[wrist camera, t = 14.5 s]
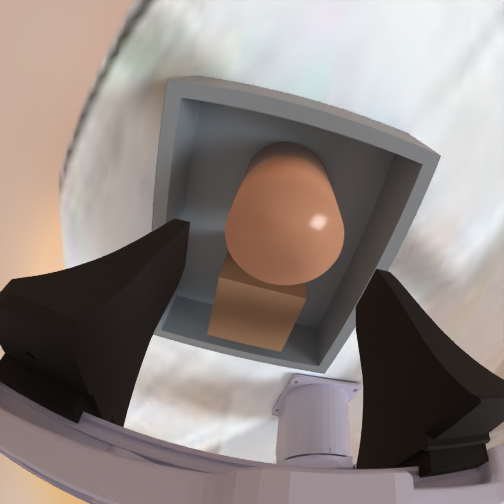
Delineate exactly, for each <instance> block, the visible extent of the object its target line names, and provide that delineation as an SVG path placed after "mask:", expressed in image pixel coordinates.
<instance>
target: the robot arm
mask: <svg viewBox="0 0 504 504" xmlns="http://www.w3.org/2000/svg"><path fill="white" fill-rule="evenodd" d="M189 229H190V222H188V221H184V220H180V219H176V218H174V219H172V220H171V221H169V222H167V223H166V224H164V225H162V226H161V227H159V228H157V229H156V230H154V231H152V232H150V233H149V234H147V235H145V236H144V237H142V238H140V239H138V240H136V241H134V242H133V243H131V244H129V245H127V246H125V247H123V248H121V249H119V250H117V251H115V252H113V253H110V254H108V255H106V256H103V257H101V258H98V259H96V260H93V261H90V262H87V263H84V264H81V265H78V266H75V267H72V268H69V269H65V270H61V271H57V272H53V273H48V274H43V275H38V276H32V277H24V278H17V279H12V280H11V281H10V282H9V283H8V284H7V285H6V286H5V287H4V289H3V290H2V291H1V292H0V345H1V347H2V349H3V350H4V352H5V354H4V356H3V357H2V359H1V360H0V453H2V454H3V455H5V456H6V457H8V458H9V459H10V460H12V461H13V462H15V463H16V464H18V465H20V466H21V467H23V468H24V469H26V470H27V471H29V472H31V473H32V474H34V475H36V476H38V477H39V478H41V479H43V480H44V481H46V482H48V483H50V484H52V485H53V486H55V487H57V488H59V489H61V490H63V491H65V492H67V493H69V494H71V495H73V496H75V497H77V498H79V499H81V500H83V501H85V502H88V503H90V504H504V445H501V446H496V447H493V448H490V449H488V450H487V449H486V445H485V444H486V443H488V442H489V441H490V437H489V432H490V431H492V430H493V429H494V428H496V427H497V426H498V425H500V424H501V423H502V422H503V421H504V380H503V379H502V378H500V377H498V376H497V375H495V374H493V373H492V372H490V371H489V370H488V369H486V368H485V367H483V366H482V365H480V364H479V363H478V362H477V361H475V360H474V359H473V358H471V357H470V356H469V355H468V354H467V353H466V352H464V351H463V350H462V349H461V348H460V347H459V346H457V345H456V344H455V343H454V342H453V341H452V340H451V339H450V338H449V337H448V336H447V335H446V334H445V333H444V332H443V331H442V330H441V329H440V328H439V327H438V326H437V325H436V324H435V323H434V321H433V320H432V319H431V318H430V317H429V316H428V315H427V314H426V312H425V311H424V310H423V309H422V308H421V307H420V305H419V304H418V303H417V302H416V301H415V299H414V298H413V297H412V296H411V295H410V294H409V292H408V291H407V290H406V289H405V288H404V286H403V285H402V284H401V283H400V282H399V281H398V280H397V279H396V278H395V277H394V276H393V275H392V274H391V273H390V272H388V271H384V270H380V269H376V270H375V272H374V274H373V276H372V278H371V279H370V281H369V283H368V285H367V287H366V289H365V291H364V292H363V294H362V296H361V298H360V300H359V301H358V303H357V305H356V333H357V340H358V347H359V354H360V361H361V368H362V375H363V419H362V431H361V440H360V448H359V454H358V459H357V464H354V466H353V457H352V456H351V450H350V428H349V412H348V402H349V401H350V400H351V399H352V398H353V397H354V396H355V394H356V393H357V392H358V391H359V390H360V389H361V384H359V383H352V382H345V381H337V380H330V379H324V378H317V377H311V376H305V375H299V374H296V375H294V376H293V377H292V379H291V380H290V382H289V384H288V385H287V387H286V389H285V390H284V392H283V394H282V395H281V397H280V398H279V400H278V402H277V403H276V405H275V407H274V408H273V410H272V414H273V415H276V416H279V421H278V433H277V444H276V459H277V464H272V463H264V462H257V461H251V460H245V459H239V458H234V457H228V456H223V455H219V454H214V453H209V452H205V451H201V450H196V449H192V448H188V447H185V446H181V445H177V444H174V443H170V442H166V441H163V440H160V439H156V438H153V437H150V436H147V435H144V434H141V433H138V432H135V431H132V430H129V429H126V428H124V427H123V426H124V422H125V418H126V414H127V410H128V407H129V403H130V400H131V396H132V393H133V390H134V386H135V383H136V380H137V377H138V374H139V371H140V368H141V365H142V362H143V359H144V356H145V353H146V351H147V348H148V345H149V342H150V340H151V338H152V336H153V333H154V331H155V329H156V327H157V325H158V323H159V321H160V320H161V318H162V316H163V314H164V312H165V310H166V308H167V306H168V304H169V302H170V300H171V299H172V297H173V295H174V293H175V291H176V289H177V287H178V284H179V282H180V279H181V276H182V274H183V271H184V268H185V264H186V254H187V246H188V237H189Z"/></svg>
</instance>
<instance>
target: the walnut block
mask: <svg viewBox="0 0 504 504" xmlns="http://www.w3.org/2000/svg"><path fill="white" fill-rule="evenodd" d="M305 301H306V282H305V283H301V284H295V285H276V284H270V283H267V282H263V281H261V280H258V279H256V278H254V277H252V276H251V275H249V274H248V273H246V272H245V271H244V270H243V269H241V268H240V267H239V266H238V264H237V263H236V262H235V261H234V259H233V258H232V256H231V254H230V252H229V250H228V251H227V254H226V257H225V260H224V263H223V267H222V270H221V273H220V276H219V280H218V285H217V289H216V294H215V299H214V304H213V309H212V313H211V318H210V323H209V328H208V333H207V334H208V335H212V336H215V337H219V338H223V339H227V340H231V341H235V342H239V343H244V344H248V345H252V346H256V347H261V348H265V349H270V350H274V351H279V352H281V351H282V349H283V347H284V345H285V343H286V341H287V339H288V337H289V335H290V333H291V331H292V329H293V326H294V324H295V322H296V320H297V318H298V316H299V314H300V312H301V310H302V307H303V305H304V303H305Z"/></svg>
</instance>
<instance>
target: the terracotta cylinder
mask: <svg viewBox="0 0 504 504" xmlns="http://www.w3.org/2000/svg"><path fill="white" fill-rule="evenodd" d="M225 239H226V244H227V247H228V250H229V252H230V254H231V256H232V258H233V259H234V261H235V262H236V263H237V264H238V266H239V267H240V268H241V269H243V270H244V271H245V272H246V273H248V274H249V275H251V276H252V277H254V278H256V279H258V280H261V281H263V282H267V283H270V284H276V285H295V284H301V283H305V282H308V281H310V280H313V279H315V278H317V277H319V276H320V275H322V274H323V273H324V272H326V271H327V270H328V269H329V268H330V267H331V266H332V265H333V264H334V262H335V261H336V260H337V258H338V256H339V254H340V252H341V249H342V247H343V242H344V225H343V221H342V218H341V215H340V211H339V208H338V205H337V202H336V199H335V196H334V193H333V190H332V187H331V184H330V181H329V178H328V175H327V172H326V169H325V166H324V164H323V162H322V161H321V159H320V158H319V157H318V155H317V154H316V153H315V152H313V151H312V150H311V149H309V148H308V147H306V146H304V145H302V144H299V143H295V142H287V141H285V142H277V143H273V144H270V145H268V146H266V147H264V148H263V149H261V150H260V151H259V152H258V153H256V155H255V156H254V157H253V158H252V160H251V161H250V164H249V166H248V168H247V170H246V173H245V175H244V178H243V180H242V183H241V185H240V187H239V190H238V192H237V195H236V197H235V200H234V202H233V205H232V207H231V210H230V212H229V215H228V217H227V221H226V226H225Z"/></svg>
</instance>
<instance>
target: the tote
mask: <svg viewBox="0 0 504 504" xmlns="http://www.w3.org/2000/svg"><path fill="white" fill-rule="evenodd" d="M285 141H287V142H295V143H299V144H302V145H304V146H306V147H308V148H309V149H311V150H312V151H313V152H315V153H316V154H317V155H318V157H319V158H320V159H321V161H322V162H323V164H324V166H325V169H326V172H327V175H328V178H329V181H330V184H331V187H332V190H333V193H334V196H335V199H336V202H337V205H338V208H339V211H340V215H341V218H342V221H343V225H344V242H343V247H342V249H341V252H340V254H339V256H338V258H337V260H336V261H335V262H334V264H333V265H332V266H331V267H330V268H329V269H328V270H327V271H326V272H324V273H323V274H322V275H320V276H319V277H317V278H315V279H313V280H310V281H308V282H306V301H305V303H304V305H303V307H302V310H301V312H300V314H299V316H298V318H297V320H296V322H295V324H294V326H293V329H292V331H291V333H290V335H289V337H288V339H287V341H286V343H285V345H284V347H283V349H282V351H281V352H279V351H274V350H270V349H265V348H261V347H256V346H252V345H248V344H244V343H239V342H235V341H231V340H227V339H223V338H219V337H215V336H212V335H208V334H207V333H208V328H209V323H210V318H211V313H212V309H213V304H214V299H215V294H216V289H217V285H218V280H219V276H220V273H221V270H222V267H223V263H224V260H225V257H226V254H227V251H228V247H227V244H226V239H225V226H226V221H227V217H228V215H229V212H230V210H231V207H232V205H233V202H234V200H235V197H236V195H237V192H238V190H239V187H240V185H241V183H242V180H243V178H244V175H245V173H246V170H247V168H248V166H249V164H250V161H251V160H252V158H253V157H254V156H255V155H256V153H258V152H259V151H260V150H261V149H263V148H264V147H266V146H268V145H270V144H273V143H277V142H285ZM440 157H441V156H440V155H439V154H438V153H436V152H435V151H433V150H432V149H431V148H429V147H428V146H426V145H425V144H423V143H422V142H420V141H419V140H417V139H416V138H414V137H413V136H411V135H410V134H408V133H406V132H403V131H401V130H398V129H396V128H393V127H391V126H388V125H386V124H383V123H380V122H378V121H375V120H372V119H369V118H367V117H364V116H361V115H358V114H355V113H352V112H349V111H346V110H343V109H340V108H337V107H334V106H331V105H327V104H324V103H321V102H317V101H314V100H310V99H307V98H303V97H299V96H296V95H292V94H288V93H284V92H280V91H275V90H271V89H267V88H262V87H258V86H253V85H248V84H243V83H238V82H233V81H227V80H221V79H215V78H209V77H202V76H191V77H183V78H175V79H168V80H167V87H166V93H165V100H164V106H163V114H162V121H161V129H160V137H159V146H158V155H157V166H156V177H155V189H154V203H153V220H152V231H154V230H156V229H157V228H159V227H161V226H162V225H164V224H166V223H167V222H169V221H171V220H172V219H174V218H176V219H180V220H184V221H188V222H190V229H189V237H188V246H187V254H186V264H185V268H184V271H183V274H182V276H181V279H180V282H179V284H178V287H177V289H176V291H175V293H174V295H173V297H172V299H171V300H170V302H169V304H168V306H167V308H166V310H165V312H164V314H163V316H162V318H161V320H160V321H159V323H158V325H157V327H156V329H155V331H154V333H153V335H157V336H160V337H163V338H167V339H170V340H174V341H177V342H181V343H185V344H188V345H192V346H196V347H200V348H203V349H207V350H211V351H215V352H219V353H223V354H228V355H232V356H236V357H241V358H245V359H249V360H254V361H259V362H264V363H268V364H273V365H278V366H284V367H289V368H294V369H300V370H306V371H311V372H317V373H324V374H325V372H326V371H327V369H328V368H329V366H330V365H331V363H332V362H333V360H334V359H335V358H336V356H337V354H338V353H339V351H340V350H341V348H342V347H343V345H344V344H345V342H346V341H347V339H348V338H349V336H350V334H351V333H352V331H353V330H354V328H355V326H356V305H357V303H358V301H359V300H360V298H361V296H362V294H363V292H364V291H365V289H366V287H367V285H368V283H369V281H370V279H371V278H372V276H373V274H374V272H375V270H376V269H380V270H384V271H388V269H389V267H390V266H391V264H392V262H393V260H394V258H395V256H396V254H397V252H398V250H399V248H400V246H401V244H402V242H403V240H404V238H405V236H406V234H407V232H408V230H409V228H410V226H411V224H412V222H413V220H414V218H415V215H416V213H417V211H418V209H419V207H420V205H421V202H422V200H423V198H424V196H425V193H426V191H427V189H428V186H429V184H430V182H431V179H432V177H433V174H434V172H435V169H436V167H437V164H438V162H439V159H440Z"/></svg>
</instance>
